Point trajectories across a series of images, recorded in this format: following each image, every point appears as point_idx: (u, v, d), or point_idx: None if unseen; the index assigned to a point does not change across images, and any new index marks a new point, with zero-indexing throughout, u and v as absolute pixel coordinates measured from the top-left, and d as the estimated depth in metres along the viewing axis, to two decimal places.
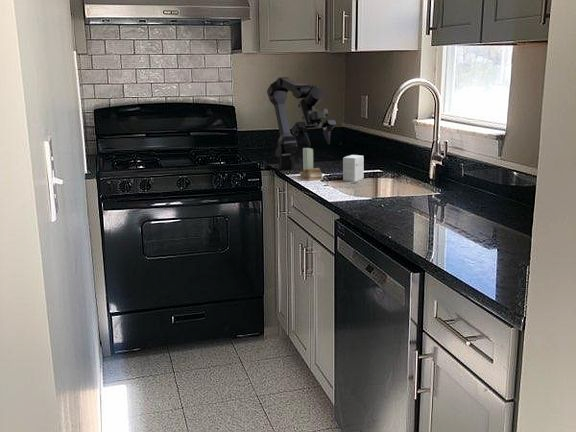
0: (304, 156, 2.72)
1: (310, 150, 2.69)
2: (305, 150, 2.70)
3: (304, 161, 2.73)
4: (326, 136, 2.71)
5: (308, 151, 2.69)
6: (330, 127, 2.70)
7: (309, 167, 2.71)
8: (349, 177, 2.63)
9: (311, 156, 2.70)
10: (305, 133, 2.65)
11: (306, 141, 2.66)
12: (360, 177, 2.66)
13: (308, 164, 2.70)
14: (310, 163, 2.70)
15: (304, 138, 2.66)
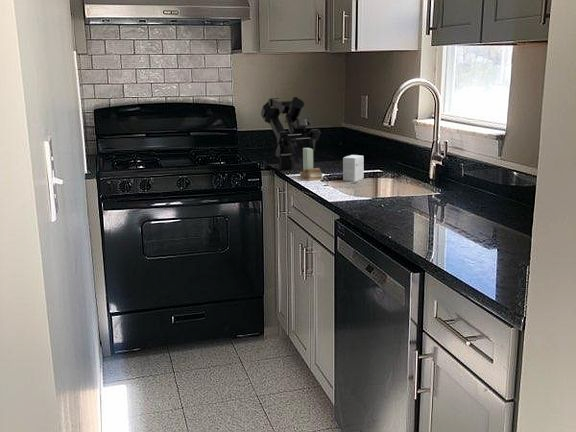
0: (304, 156, 2.72)
1: (310, 150, 2.69)
2: (305, 150, 2.70)
3: (304, 161, 2.73)
4: (311, 144, 2.79)
5: (308, 151, 2.69)
6: (314, 136, 2.78)
7: (309, 167, 2.71)
8: (349, 177, 2.63)
9: (311, 156, 2.70)
10: (289, 141, 2.75)
11: (290, 149, 2.75)
12: (360, 177, 2.66)
13: (308, 164, 2.70)
14: (310, 163, 2.70)
15: (288, 146, 2.75)
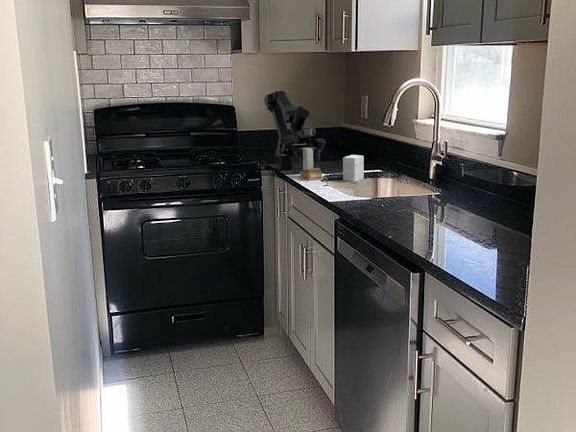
0: (304, 156, 2.72)
1: (310, 150, 2.69)
2: (305, 150, 2.70)
3: (304, 161, 2.73)
4: (317, 154, 2.75)
5: (308, 151, 2.69)
6: (319, 145, 2.74)
7: (309, 167, 2.71)
8: (349, 177, 2.63)
9: (311, 156, 2.70)
10: (294, 151, 2.71)
11: (295, 159, 2.71)
12: (360, 177, 2.66)
13: (308, 164, 2.70)
14: (310, 163, 2.70)
15: (293, 157, 2.71)
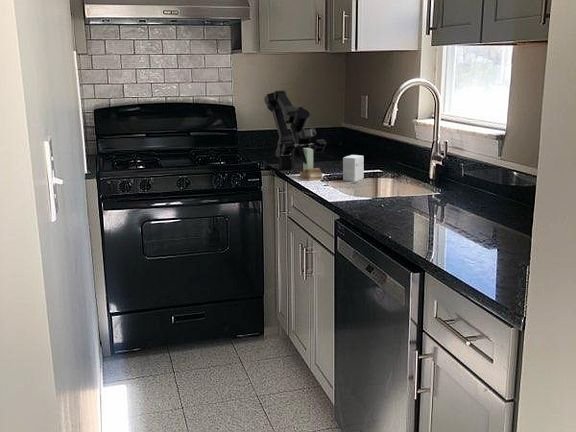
0: None
1: (310, 150, 2.69)
2: (305, 150, 2.70)
3: None
4: None
5: (308, 151, 2.69)
6: (313, 147, 2.73)
7: (309, 167, 2.71)
8: (349, 177, 2.63)
9: (311, 156, 2.70)
10: (301, 151, 2.72)
11: (302, 159, 2.72)
12: (360, 177, 2.66)
13: (308, 164, 2.70)
14: (310, 163, 2.70)
15: (300, 157, 2.72)
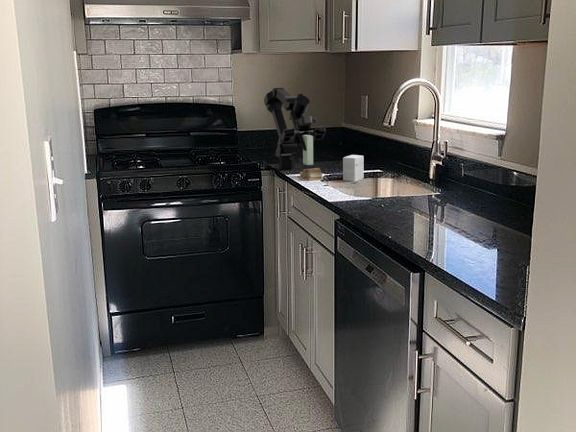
0: None
1: (310, 137, 2.68)
2: (305, 137, 2.69)
3: None
4: None
5: (308, 138, 2.67)
6: (313, 134, 2.72)
7: (308, 154, 2.69)
8: (349, 177, 2.63)
9: (311, 143, 2.68)
10: (301, 138, 2.70)
11: (302, 146, 2.70)
12: (360, 177, 2.66)
13: (308, 151, 2.69)
14: (310, 150, 2.69)
15: (300, 144, 2.71)
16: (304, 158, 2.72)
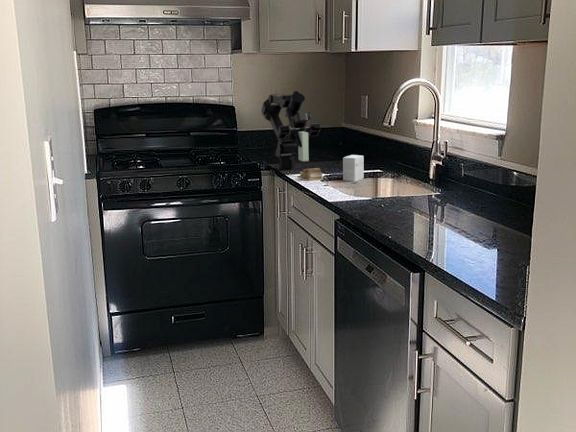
0: None
1: (305, 133, 2.72)
2: (300, 133, 2.73)
3: None
4: None
5: (303, 134, 2.72)
6: (308, 130, 2.76)
7: (304, 151, 2.74)
8: (349, 177, 2.63)
9: (306, 139, 2.73)
10: (296, 135, 2.75)
11: (298, 143, 2.75)
12: (360, 177, 2.66)
13: (304, 148, 2.73)
14: (305, 146, 2.73)
15: (296, 140, 2.75)
16: (299, 154, 2.77)
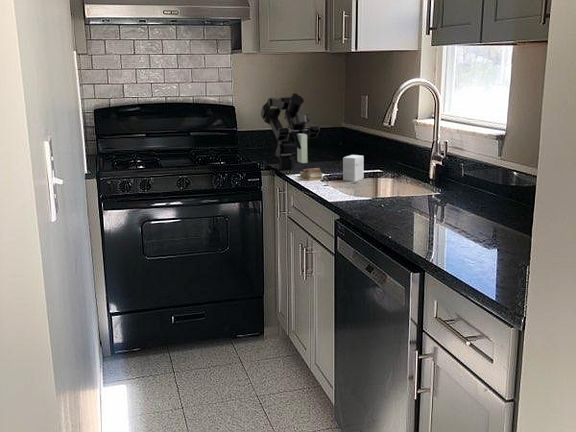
0: None
1: (304, 135, 2.73)
2: (299, 135, 2.75)
3: None
4: None
5: (302, 136, 2.73)
6: (307, 132, 2.78)
7: (303, 152, 2.75)
8: (349, 177, 2.63)
9: (305, 141, 2.74)
10: (295, 137, 2.76)
11: (296, 145, 2.76)
12: (360, 177, 2.66)
13: (302, 149, 2.75)
14: (304, 148, 2.75)
15: (295, 142, 2.77)
16: (298, 156, 2.78)
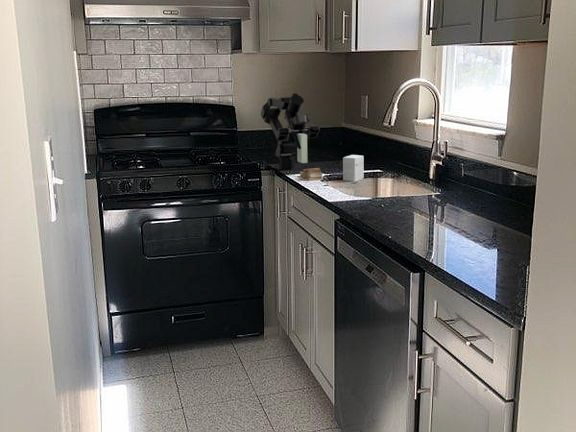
0: None
1: (304, 135, 2.73)
2: (299, 135, 2.75)
3: None
4: None
5: (302, 136, 2.73)
6: (307, 132, 2.78)
7: (303, 152, 2.75)
8: (349, 177, 2.63)
9: (305, 141, 2.74)
10: (295, 137, 2.76)
11: (296, 145, 2.76)
12: (360, 177, 2.66)
13: (302, 149, 2.75)
14: (304, 148, 2.75)
15: (295, 142, 2.77)
16: (298, 156, 2.78)
